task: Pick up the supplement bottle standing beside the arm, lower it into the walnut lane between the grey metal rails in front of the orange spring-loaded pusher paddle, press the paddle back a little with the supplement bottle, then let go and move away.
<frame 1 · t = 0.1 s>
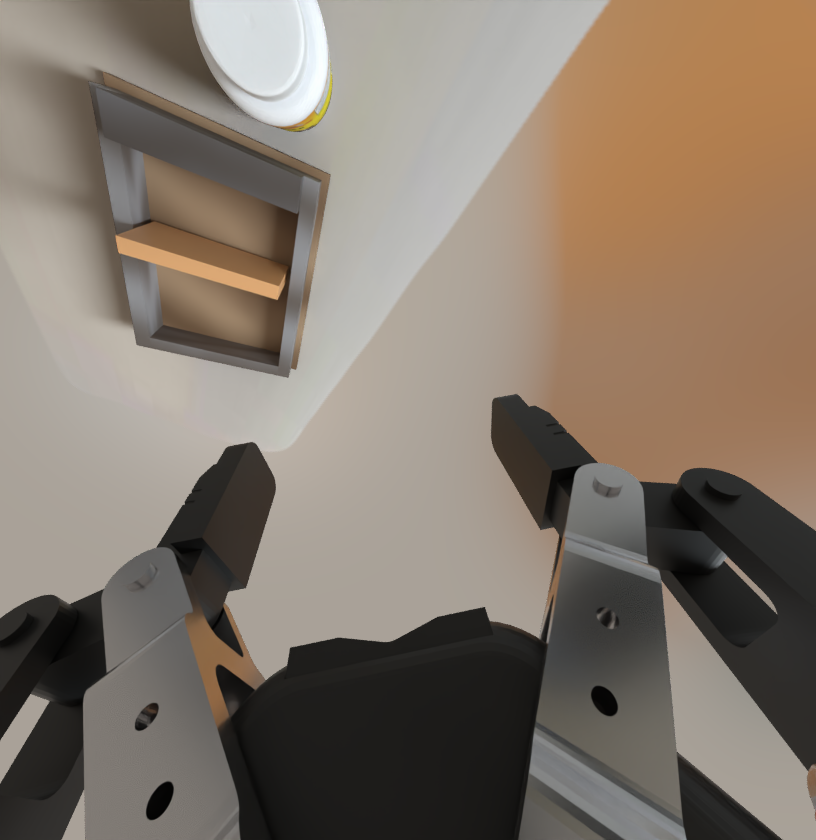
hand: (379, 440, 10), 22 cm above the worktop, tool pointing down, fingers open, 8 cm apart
supplement bottle: (288, 73, 19), on the worktop
pusher paddle: (216, 260, 22), point 4 cm above the worktop, slide at 0.0 cm
lane: (230, 267, 25), on the worktop
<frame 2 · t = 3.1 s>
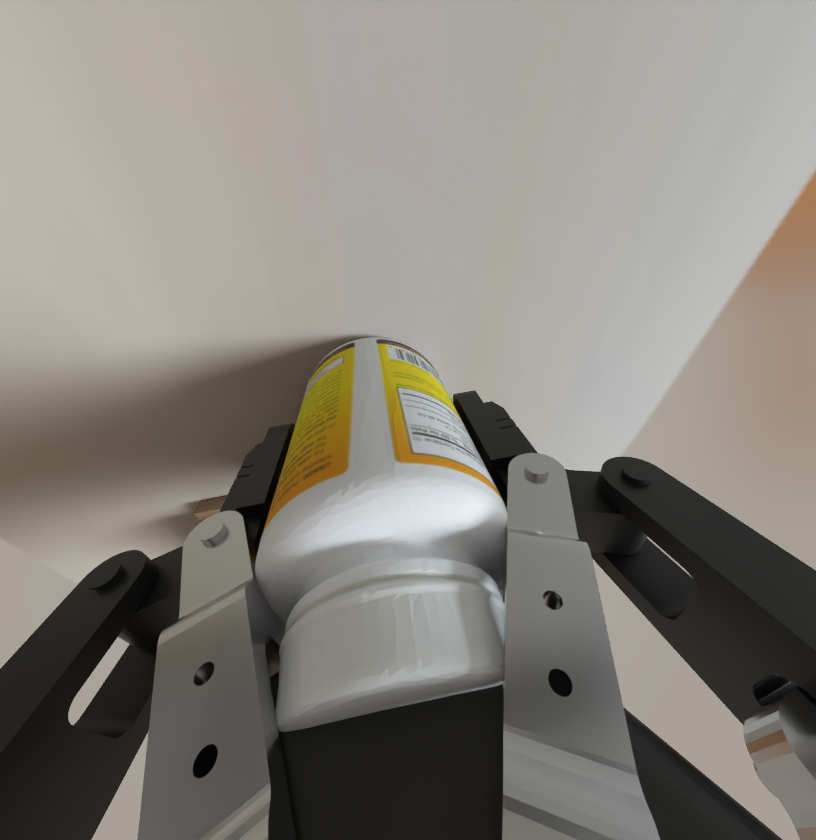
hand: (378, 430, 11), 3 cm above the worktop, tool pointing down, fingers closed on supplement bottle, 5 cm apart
supplement bottle: (376, 394, 13), on the worktop, touching gripper
lane: (368, 571, 20), on the worktop
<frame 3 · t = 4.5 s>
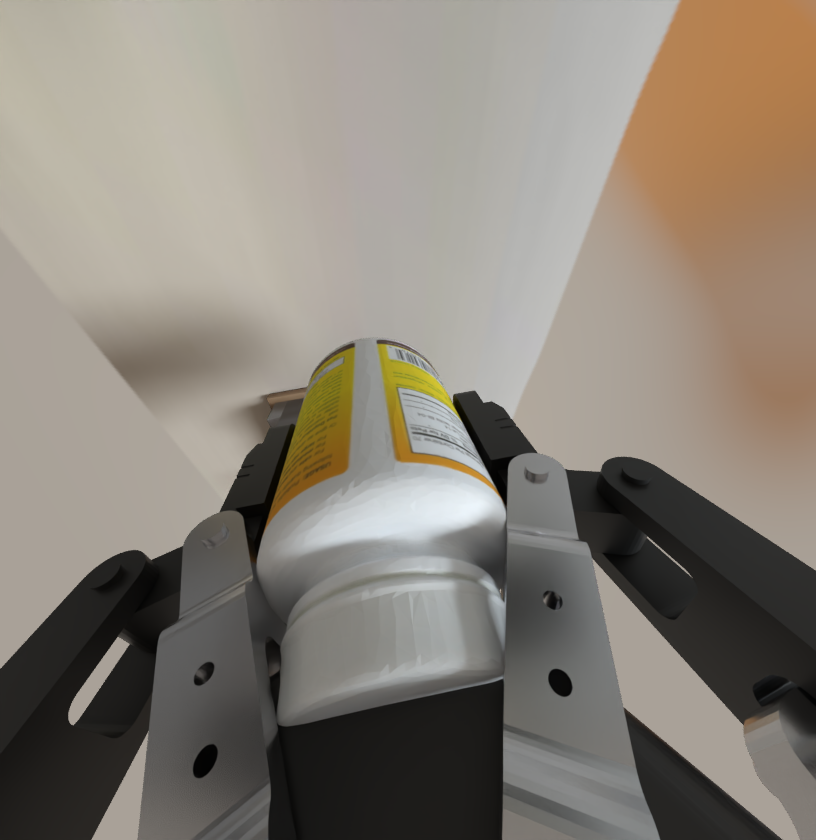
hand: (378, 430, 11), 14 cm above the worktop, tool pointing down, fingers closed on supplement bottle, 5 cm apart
supplement bottle: (376, 394, 13), point 12 cm above the worktop, touching gripper
lane: (369, 461, 30), on the worktop
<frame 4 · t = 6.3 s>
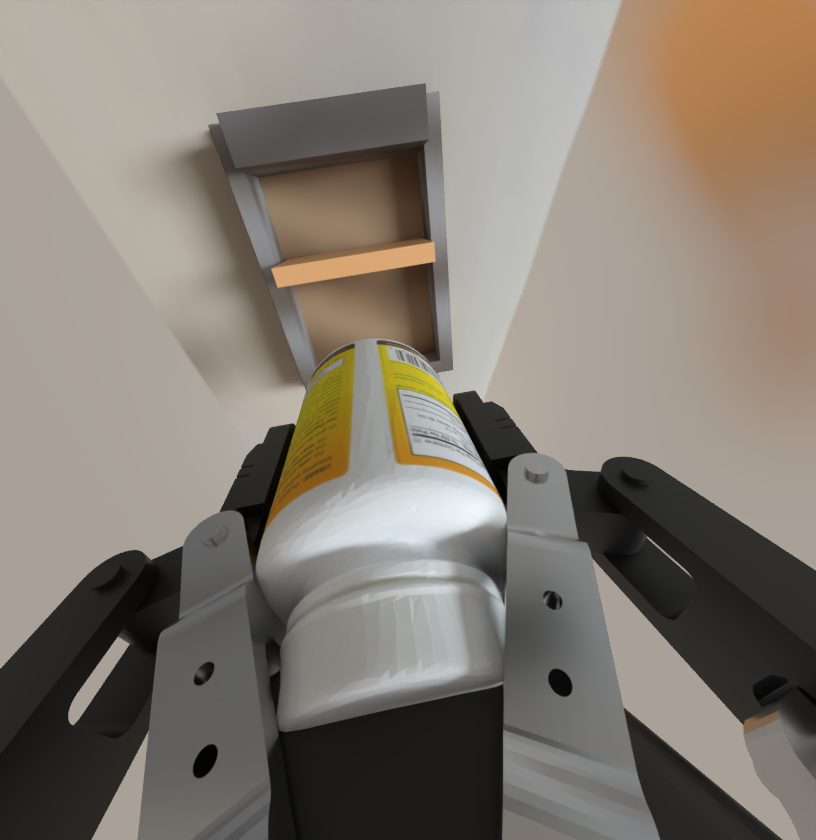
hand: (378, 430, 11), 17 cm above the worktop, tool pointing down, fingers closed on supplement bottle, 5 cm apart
supplement bottle: (376, 394, 13), point 14 cm above the worktop, touching gripper
pusher paddle: (355, 260, 19), point 4 cm above the worktop, slide at 0.0 cm
lane: (360, 276, 23), on the worktop
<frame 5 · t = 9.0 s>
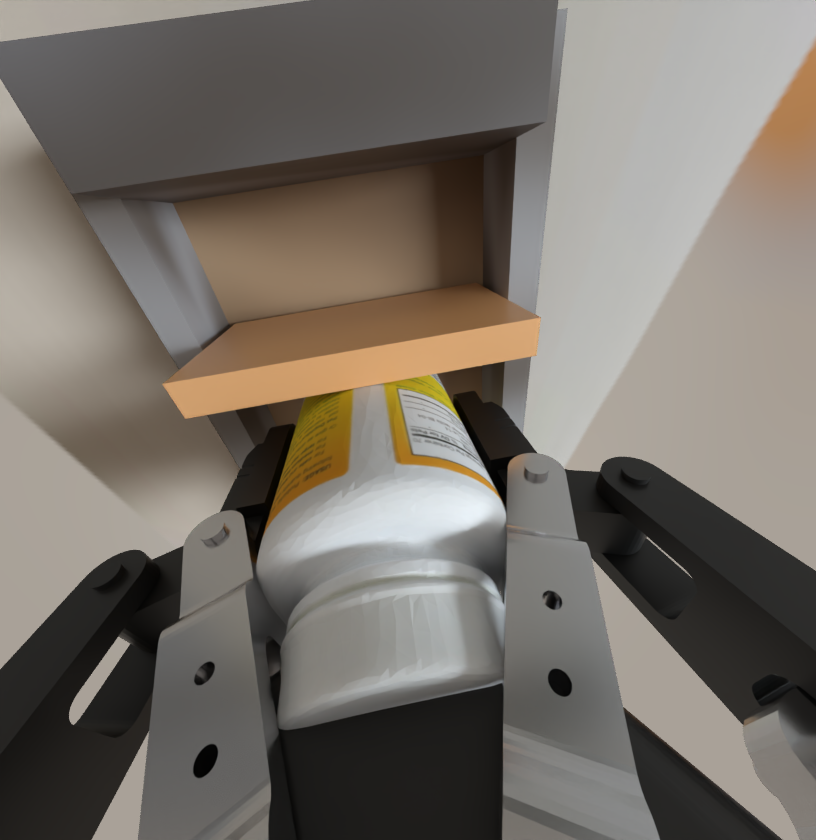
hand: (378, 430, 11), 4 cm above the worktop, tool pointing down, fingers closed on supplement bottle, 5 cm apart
supplement bottle: (376, 394, 13), point 2 cm above the worktop, touching gripper
pusher paddle: (360, 336, 10), point 4 cm above the worktop, slide at 0.8 cm
lane: (371, 358, 14), on the worktop
when the fingers open (4 cm above the worktop, at t = 9.4 s): supplement bottle drops 1 cm, resting on lane.
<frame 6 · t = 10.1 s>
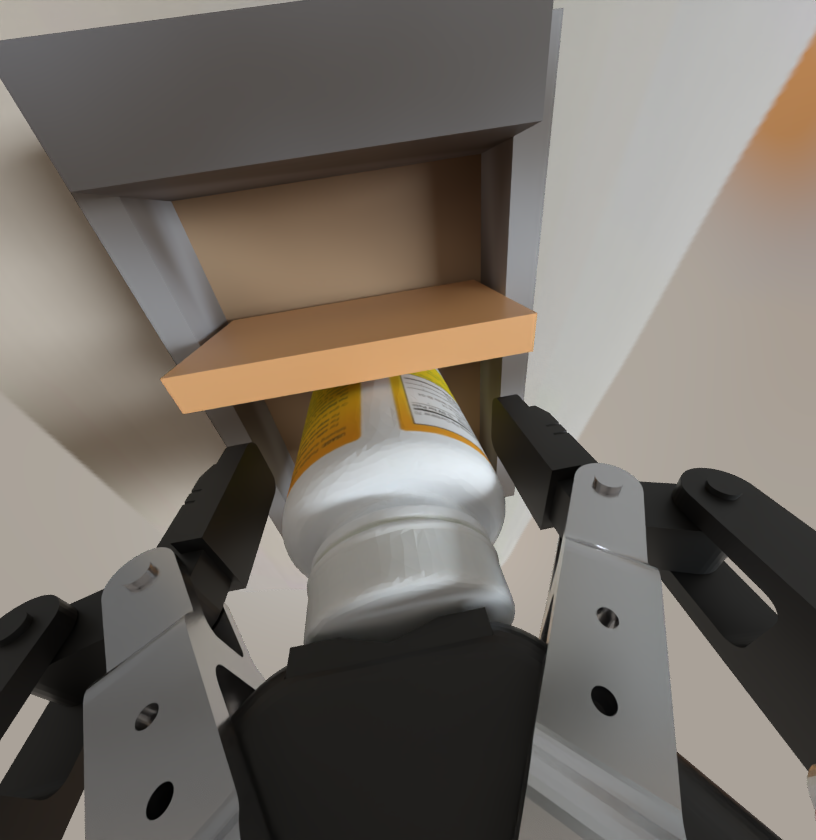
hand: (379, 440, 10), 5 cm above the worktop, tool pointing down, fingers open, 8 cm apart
supplement bottle: (378, 384, 14), point 1 cm above the worktop, touching lane
pusher paddle: (357, 333, 10), point 4 cm above the worktop, slide at 0.8 cm
lane: (369, 357, 14), on the worktop
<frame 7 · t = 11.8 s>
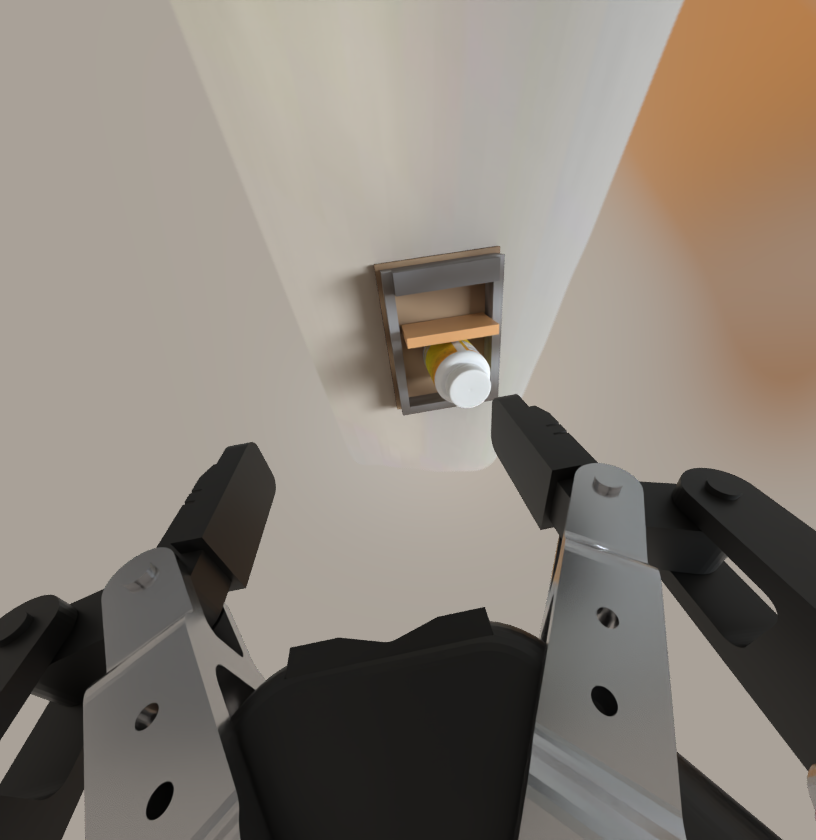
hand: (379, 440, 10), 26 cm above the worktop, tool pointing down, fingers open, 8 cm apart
supplement bottle: (444, 350, 36), point 1 cm above the worktop, touching lane
pusher paddle: (447, 329, 32), point 4 cm above the worktop, slide at 0.8 cm
lane: (441, 340, 36), on the worktop
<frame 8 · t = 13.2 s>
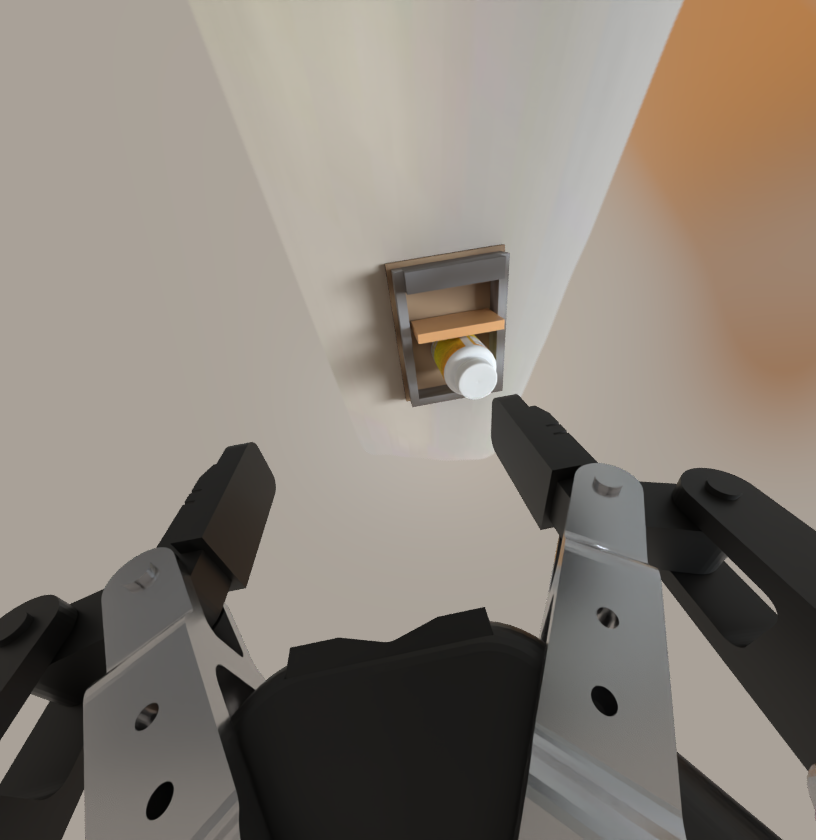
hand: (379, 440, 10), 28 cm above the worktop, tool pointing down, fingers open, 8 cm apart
supplement bottle: (451, 345, 38), point 1 cm above the worktop, touching lane
pusher paddle: (455, 324, 33), point 4 cm above the worktop, slide at 0.8 cm
lane: (448, 334, 38), on the worktop
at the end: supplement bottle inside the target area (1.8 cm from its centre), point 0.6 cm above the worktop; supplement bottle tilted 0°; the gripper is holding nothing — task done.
